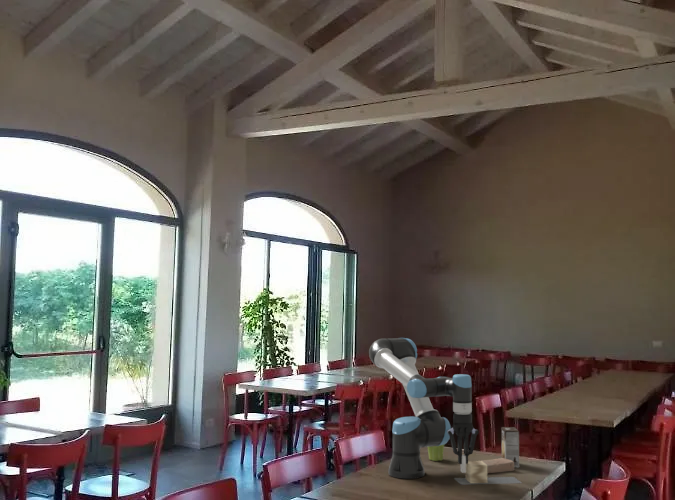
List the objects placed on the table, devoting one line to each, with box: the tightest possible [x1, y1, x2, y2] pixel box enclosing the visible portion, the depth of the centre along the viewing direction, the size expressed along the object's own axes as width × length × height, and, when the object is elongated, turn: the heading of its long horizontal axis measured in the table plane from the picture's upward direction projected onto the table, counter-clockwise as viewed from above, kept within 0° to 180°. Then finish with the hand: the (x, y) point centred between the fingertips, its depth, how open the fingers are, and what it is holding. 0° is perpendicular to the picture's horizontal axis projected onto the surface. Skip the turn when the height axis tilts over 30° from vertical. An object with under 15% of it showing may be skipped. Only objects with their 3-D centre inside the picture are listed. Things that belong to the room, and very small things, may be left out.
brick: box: [479, 457, 515, 474], centre depth 302 cm, size 17×8×5 cm, turn 111°
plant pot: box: [427, 444, 446, 462], centre depth 323 cm, size 9×9×9 cm
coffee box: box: [500, 426, 520, 468], centre depth 313 cm, size 9×6×16 cm
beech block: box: [464, 460, 488, 483], centre depth 284 cm, size 7×7×7 cm
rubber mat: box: [453, 476, 523, 486], centre depth 284 cm, size 26×10×1 cm, turn 96°
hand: (463, 471), depth 283 cm, fingers closed
